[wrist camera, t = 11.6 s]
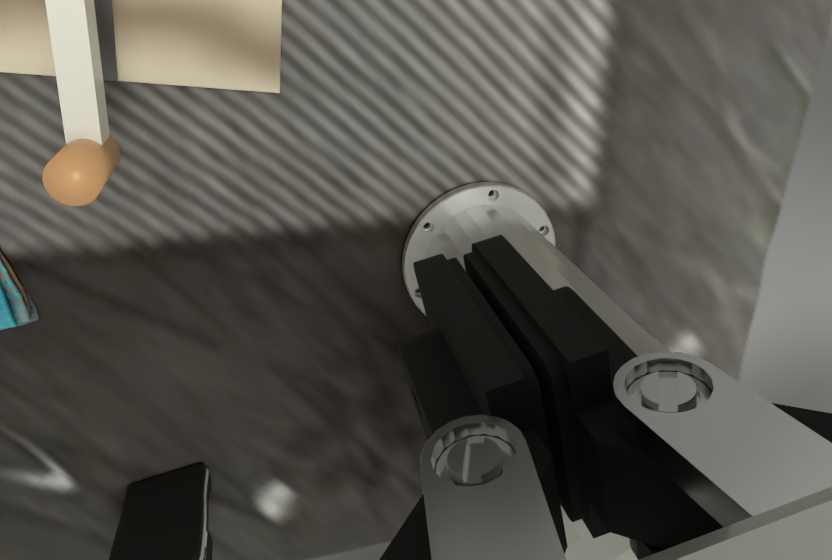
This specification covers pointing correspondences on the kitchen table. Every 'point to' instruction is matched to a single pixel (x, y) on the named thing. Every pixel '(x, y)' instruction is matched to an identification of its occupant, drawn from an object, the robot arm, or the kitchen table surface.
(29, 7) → the post board
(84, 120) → the crank handle
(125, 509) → the battery charger
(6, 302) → the dish towel
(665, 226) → the kitchen table surface
